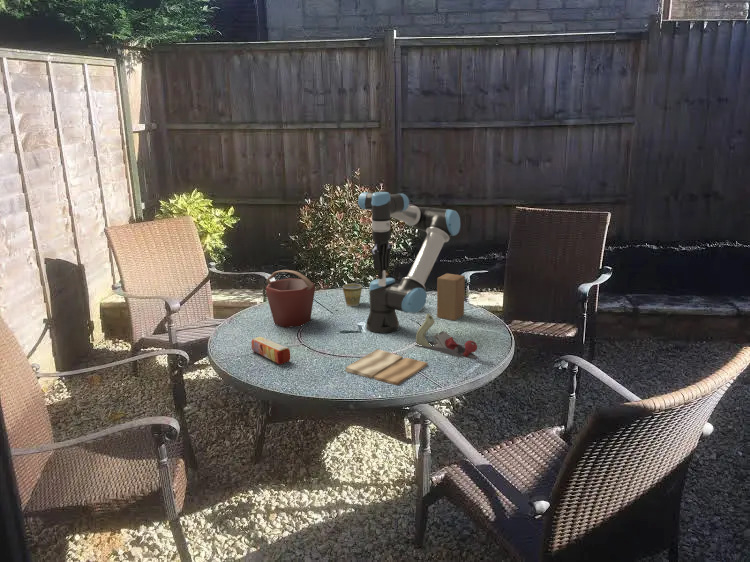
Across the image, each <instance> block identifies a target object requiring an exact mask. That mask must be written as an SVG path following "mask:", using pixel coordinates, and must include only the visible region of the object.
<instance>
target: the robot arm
mask: <svg viewBox="0 0 750 562" xmlns="http://www.w3.org/2000/svg"><path fill="white" fill-rule="evenodd" d="M357 204H358V207H359V209H361V210H365V211H367V210H368V211H371V230H372V231H371V233H372V234H371V235H372V237H371V238H372V240H373V241H374V245H373V247H374V248H371V249H370V253H371V255H372V261H373V267H374V271H377V275H378V276H377V279H373V280H371V282H370V283H369V290H368V292H369V315H368V318H367V320H366V324H365V326H366V329H367V331H369V330H370V332H372V331H373V332H372V333H377V332H388V333H393V332H396V331H398V330H399V329H400V322H399V319H398V315H397V312H396V311H400V312H404V313H407V314H409V313H410V314H416V313H418V312H419V313H420V311H421V310H423V309H424V307H425V305H426V303H427V295H428V293H427V291H426V286H425V284H426V283H427V280H428V277H430V273H431V271H432V270H433V267H434V265H435V263H436V261H437V259H438V257H439V254H440V252H441V250H442V248H443V246H444V245H445V243H448V242H449V241H450V239H451V236H453V237H454V236H458V234H459V232H460V229H461V218H460V215H459V213H458V212H457V211H456V210H453V209H449V208H447V209H445V208H438V207H437V208H436V207H426V206H425V207H424V206H423V207H421V206H416V205H410V199H409V197H408V196H407V195H406V194H404V193H395V194H393V193H392V194H391V193H390V192H389V191H376V192H370V191H363V192H361V193H360V194H359V196H358V199H357ZM391 218H393V219H396V220H398V221H402V222H404V223H405V225H407V226H410V227H412V228H414V229H417V230H419V231H422V232H426V236H425V238H424V241H423V242H422V245H421V247H420V249H419V252H418V253H417V255H416V257H415V260H414V262H413V264H412V265H411V267H410V269H409V272H408V274H407V275H406V276H405V277H402V278H401V281H400V283H396V280H395V278H394V277H387V271H389V268H390V263H391V262H390V261H391V254H392V248H393V244H390V243H389V241H390V240H391V232H392V231H391ZM397 329H398V330H397ZM395 330H396V331H395ZM392 331H393V332H392Z"/></svg>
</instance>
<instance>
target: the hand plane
mask: <svg viewBox="0 0 750 562" xmlns="http://www.w3.org/2000/svg"><path fill="white" fill-rule="evenodd" d="M435 322H436V321H435V319H434V317H433V316H432V314H430V313H427V314H426V315H425V320H424V322H423V323H422V324H421V325H420V327H419V328H418V330H416V331H417V332H416V334H415V335H416V336H415V342H416V343H417V344H419V345H422V346H419V345H415V346H414V347H418V348H423V349H426V350H430V351H431V350H432V351H435V352H441V353H444V354H447V355H450V356H454V357H457V358H461V359H464V358H468V359H472V360H476V359H477V358H478V355H476V354H474V352H476V351H477V350H478V343H476V342H475V341H474V340H471V339H470V340H467V341H465V343H464V346H463V345H462V344H459V343H457V342H456V341H455V340H454V338H453V336H450V335H449V333H448V332H447V331H444V330H443V331H442V330H441V332H439V333H435V334H434V335H433V336H432V338H433V339H434V341H430V340H427V339H426V334H427V332H428V331H429V330H430V328H432V326H433V325H434V324H435ZM429 343H430V344H431V345H432V346H431V345H430V344H429ZM433 345H434V346H433Z"/></svg>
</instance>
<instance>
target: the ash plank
mask: <svg viewBox="0 0 750 562" xmlns="http://www.w3.org/2000/svg"><path fill="white" fill-rule="evenodd" d="M402 359H404V358H403V356H401V355H398V354H394V353H391V352H388V351H385V350H382V349H379V348H377V349H376V350H373V351H372V352H370V353H368V354H366V355H365V356H362V358H360V359H358V360H356V361H354V362H352V363H351V364H349V365H347V366H345V372H346V373H351V374H353V375H358V376H361V377H365V378H368V379H373V378H374V379H375V376H377V375H378V374H380V373H381V372H383V371H385V370H386V369H388V368H390V367H391V366H393V365H394V364H396V363H398V362H399V361H401V360H402Z"/></svg>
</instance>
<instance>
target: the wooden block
mask: <svg viewBox="0 0 750 562" xmlns="http://www.w3.org/2000/svg"><path fill="white" fill-rule="evenodd" d="M465 277H466V276H465V275H462V274H453V273H448V272H446V273H445V274H443V275H441V276H439V277H437V283H436V284H437V285H436V286H437V287H436V289H437V290H436V291H437V293H436V296H437V297H436V305H437V306H436V317H437V318H439V319H445V320H451V321H457V320H458V319H461V317H463V316H464V315H465V287H466V286H465Z"/></svg>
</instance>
